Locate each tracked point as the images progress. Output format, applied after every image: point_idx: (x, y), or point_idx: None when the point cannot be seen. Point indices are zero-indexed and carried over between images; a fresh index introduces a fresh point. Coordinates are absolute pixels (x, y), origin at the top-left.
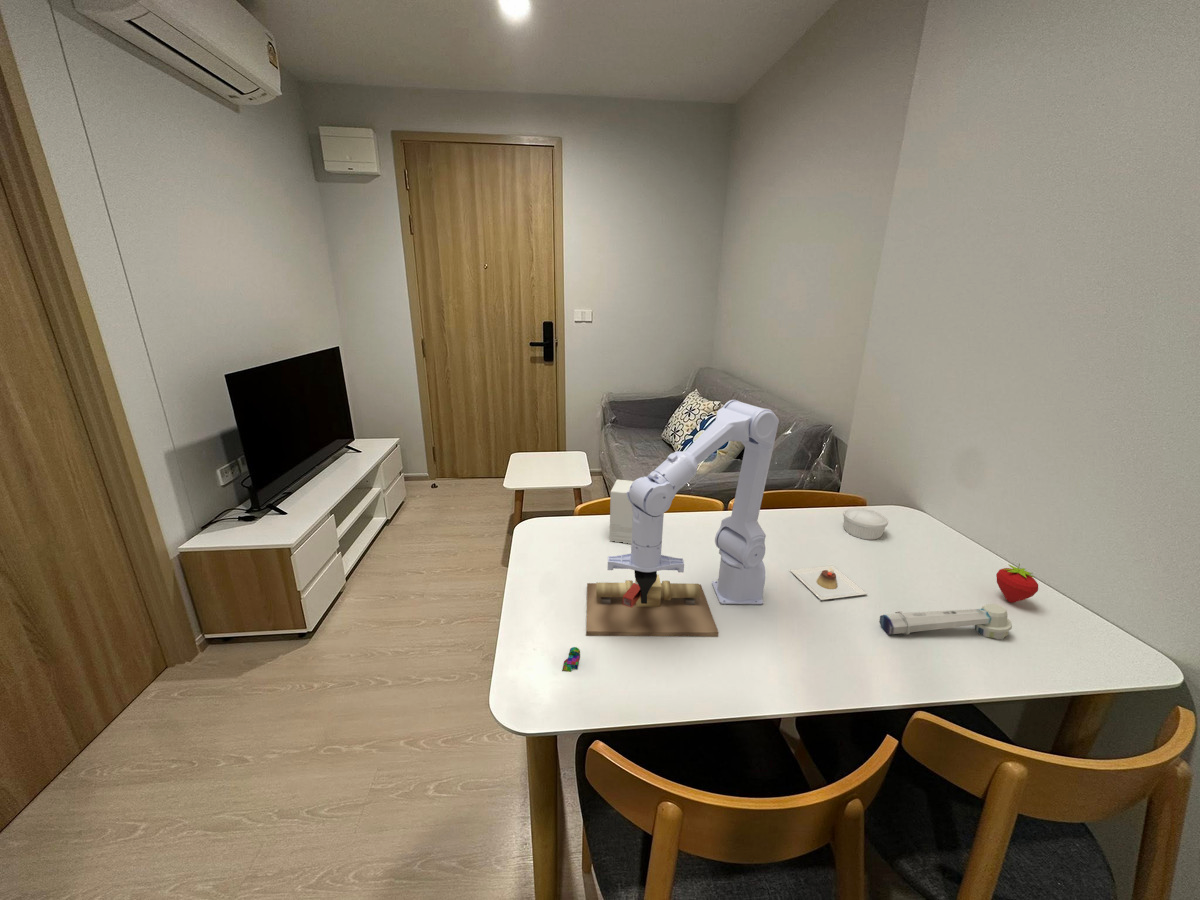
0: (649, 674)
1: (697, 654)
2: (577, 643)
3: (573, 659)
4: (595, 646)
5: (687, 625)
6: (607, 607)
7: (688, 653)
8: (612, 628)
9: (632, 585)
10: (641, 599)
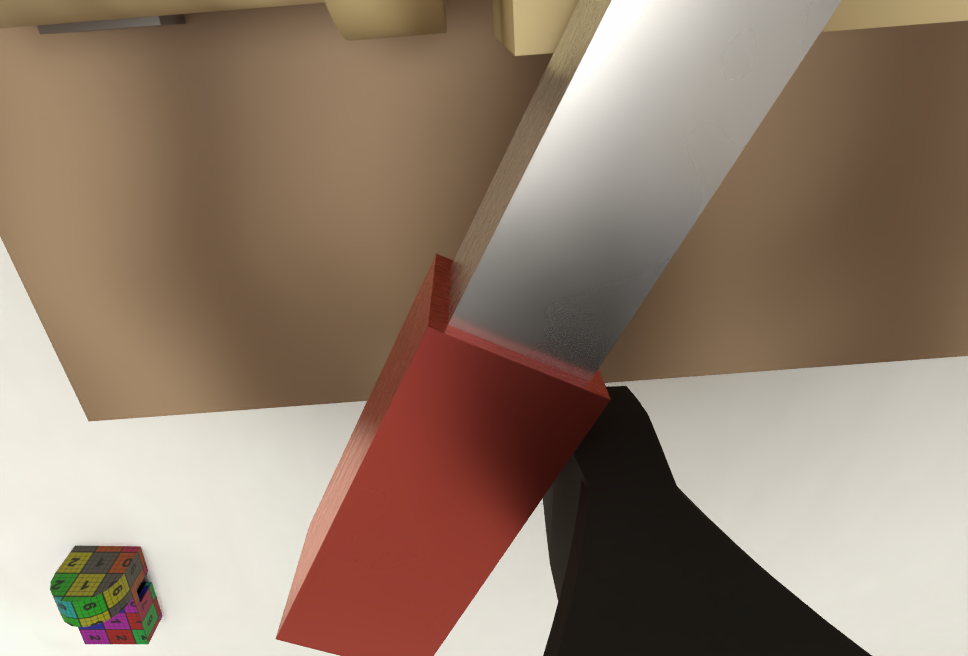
0: (548, 609)
1: (867, 477)
2: (80, 465)
3: (109, 619)
4: (210, 477)
5: (935, 287)
6: (168, 87)
7: (813, 475)
8: (288, 374)
9: (405, 396)
10: (551, 561)
